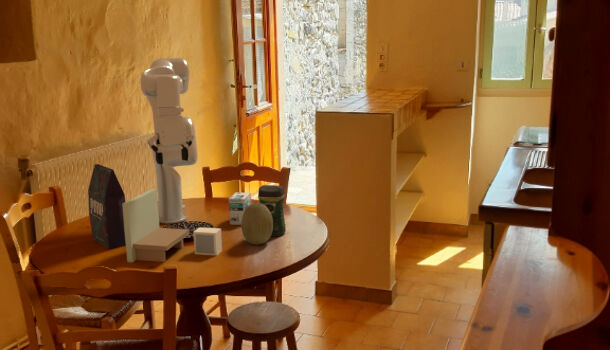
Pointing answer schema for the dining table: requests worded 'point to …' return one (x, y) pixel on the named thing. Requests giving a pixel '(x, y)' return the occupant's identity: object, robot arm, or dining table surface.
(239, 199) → the light bulb box
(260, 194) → the coffee jar
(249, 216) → the fruit
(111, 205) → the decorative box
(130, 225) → the pale l-shaped piece
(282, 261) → the dining table surface
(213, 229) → the cabinet block
